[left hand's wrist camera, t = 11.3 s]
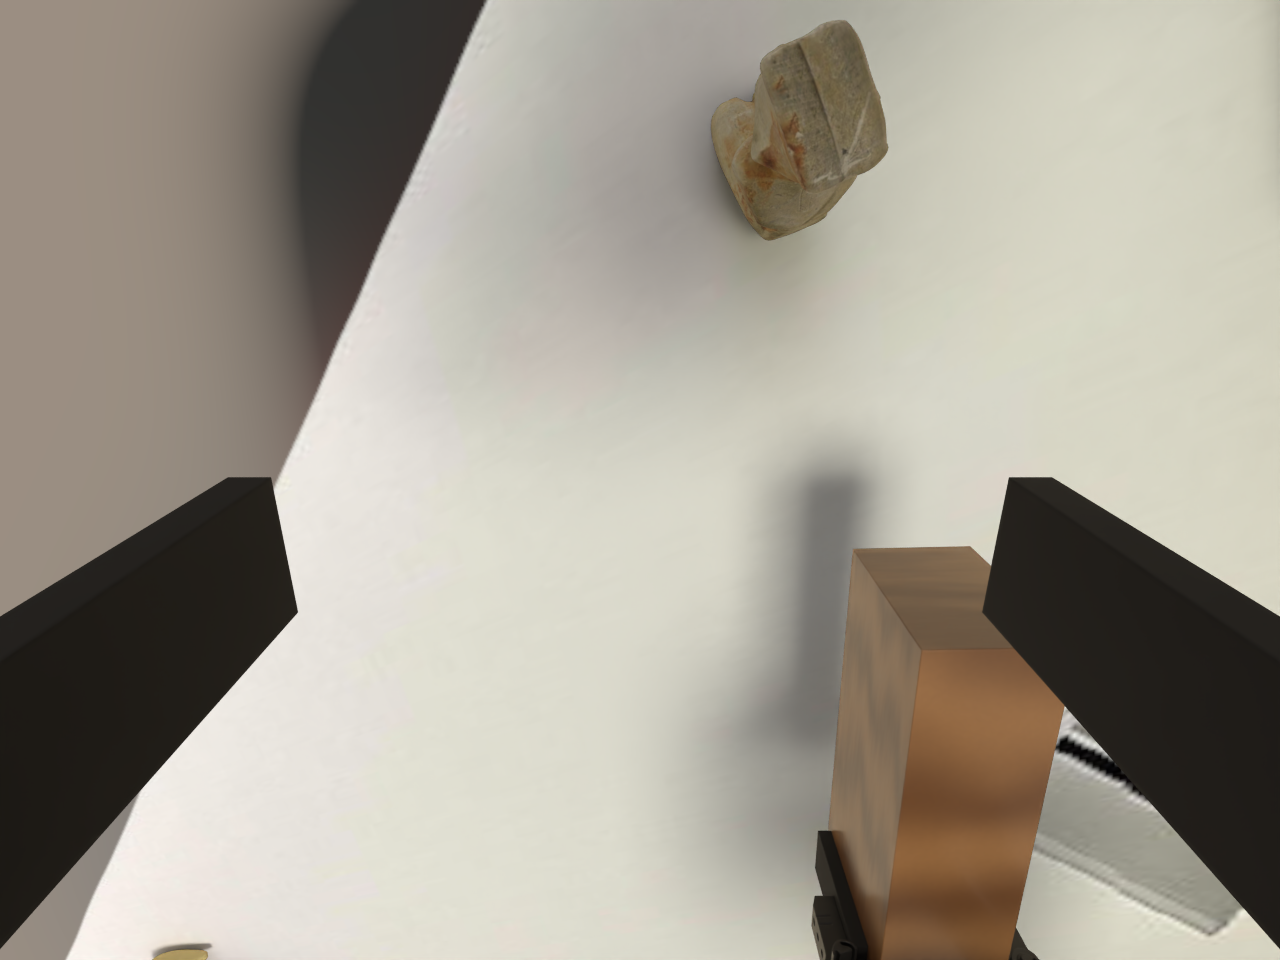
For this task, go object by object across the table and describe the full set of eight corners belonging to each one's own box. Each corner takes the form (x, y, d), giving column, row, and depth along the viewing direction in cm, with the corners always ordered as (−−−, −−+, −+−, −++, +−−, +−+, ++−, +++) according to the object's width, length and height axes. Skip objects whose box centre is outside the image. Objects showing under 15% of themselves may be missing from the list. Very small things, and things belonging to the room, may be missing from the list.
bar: (852, 548, 32) (921, 650, 24) (970, 545, 32) (1078, 647, 24) (822, 889, 40) (868, 1053, 32) (918, 887, 40) (988, 1051, 32)
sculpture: (798, 75, 36) (899, -23, 22) (831, 214, 38) (943, 207, 24) (691, 117, 36) (724, 49, 22) (731, 251, 39) (783, 265, 25)
